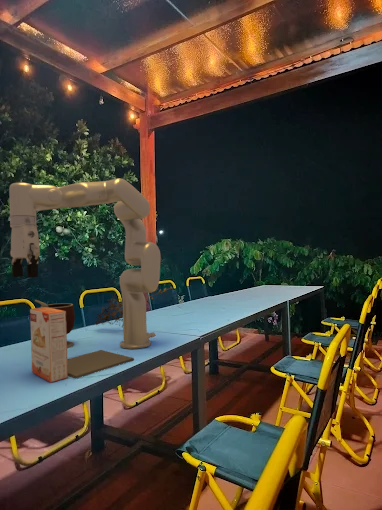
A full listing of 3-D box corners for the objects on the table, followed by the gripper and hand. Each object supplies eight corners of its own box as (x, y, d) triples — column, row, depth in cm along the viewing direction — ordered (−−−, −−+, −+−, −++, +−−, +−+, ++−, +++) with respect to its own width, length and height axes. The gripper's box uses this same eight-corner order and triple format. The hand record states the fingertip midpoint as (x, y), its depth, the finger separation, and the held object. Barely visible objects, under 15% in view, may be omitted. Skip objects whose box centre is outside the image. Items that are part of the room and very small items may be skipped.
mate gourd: (74, 340, 159) (73, 295, 159) (76, 348, 146) (75, 299, 146) (36, 344, 153) (35, 298, 153) (35, 352, 140) (33, 301, 140)
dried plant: (66, 298, 172) (138, 257, 155) (108, 296, 199) (173, 261, 183) (84, 359, 164) (162, 324, 147) (125, 348, 192) (194, 317, 175)
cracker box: (30, 373, 115) (29, 308, 115) (49, 368, 119) (47, 306, 119) (49, 383, 105) (47, 312, 105) (68, 378, 109) (66, 310, 109)
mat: (101, 352, 139) (101, 349, 139) (133, 360, 127) (133, 357, 127) (44, 367, 121) (44, 365, 121) (76, 378, 109) (76, 376, 109)
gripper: (48, 221, 110) (50, 276, 110) (22, 225, 121) (23, 275, 121) (24, 219, 105) (26, 278, 105) (-1, 224, 116) (0, 277, 116)
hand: (24, 276), depth 113 cm, fingers open, 9 cm apart
